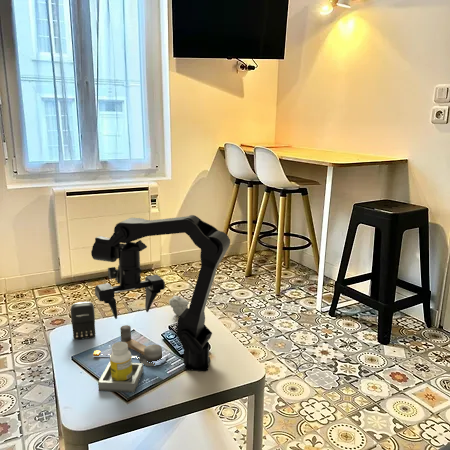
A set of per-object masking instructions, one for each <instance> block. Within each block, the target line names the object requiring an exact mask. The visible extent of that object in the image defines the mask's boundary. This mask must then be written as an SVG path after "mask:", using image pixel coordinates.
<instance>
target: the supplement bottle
mask: <svg viewBox="0 0 450 450" xmlns="http://www.w3.org/2000/svg"><path fill="white" fill-rule="evenodd" d="M111 351H112V352H111V353H110V354H109V355H110V358H109V362H110V364H111V377H112V381H124V382H129V381H130V380H131V379H132V363H133V361H132V360H133V359H131V356H132V352H131V350H129V347H128V344H127V343H126V342H121V341H118V342H114V343H113V344H112V346H111Z"/></svg>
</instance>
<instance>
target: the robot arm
mask: <svg viewBox="0 0 450 450" xmlns="http://www.w3.org/2000/svg"><path fill="white" fill-rule="evenodd" d="M184 233H185V234H186V235H187V236H188V237H189V238H190V240H191V242H193V244H194V245H195V246H197V248H199V249H200V254H199V257H200V269H199V272H198V276H197V278H196V279H197V280H196V282H195V286H194V288H193V289H194V290H193V293H192V297H191V300H190V303H189V306H188V308H186V309H185V310H184V311H183V313H182V314H181V315H178V319H177V325H176V327H174V330H176V337H177V338H178V340H179V341H180V344H181V347H182V348H183V365H184V370H185V371H197V372H208V371H209V367H210V362H211V357H210V342H209V341H210V339H211V337H212V335H213V332H212V331H211V330H210V329H209V328H208V327H207V326H206V324H205V321H206V315H205V309H206V306H207V303H208V299H209V296H210V294H211V290H212V286H213V283H214V281H215V276H216V273H217V271H218V267H219V265H220V263H221V262H222V260H223V259H224V257H225V255H226V253H227V251H228V249H229V248H230V245H231V238H230V237H229V235H228V234H227V233H226V232H224V231H222V230H219V229H217V228H216V227H215V226H214V225H212V224H209V223H208V222H206V221H204V220H202V219H201V218H200V217H198V216H196V215H194V214H190V215H187V216H179V217H170V218H161V219H151V220H150V219H144V218H143V217H142V218H140V217H129V218H127V219H125V220H122V221H120V222H117V223H116V224H115V226H114V229H113V233H112V234H111V236H110V237H106V236H101V235H98V236H97V237H95V238H94V239H95V240H94V243H93V244H92V248H91V250H90V252H91V253H90V254H91V258H92V259H93V260H95V261H101V262H108V263H109V262H110V263H115V262H117V260H118V267H117V269H116V266H112V267H107V275H108V278H109V279H115V282H116V283H117V284H119V285H115V286H112V285H111V284H110V283H109V282H108V283H107V282H106V283H100V284H96V286H95V288H94V295H95V296H96V298H97V299H98V301H99V302H103V303H104V304H108V306H109V307H110V310H111V313H112V314H113V317H114V320H117V319H118V308H117V299H116V298H115V295H116V294H118V293H124V292H129V291H134V290H141V289H144V290H145V299H144V300H145V305H144V306H145V308H144V309H145V312H146V313H148V312H149V311H150V308H151V307H152V304H153V303H154V301H155V299H156V297H157V295H158V294H160V293H161V291H162V290H165V289H166V283H165V280H164V279H163V278H162V277H161V276H159V275H158V274H152V275H147V276H145V278H144V279H145V280H141V273H142V267H141V256H140V252H142V251H143V250H145V249H147V247H148V246H147V245H146V244H145V243H144V242H143V241H142V240H141V239H144V238H146V237H154V236H162V235H174V234H184ZM134 241H136V242H134Z"/></svg>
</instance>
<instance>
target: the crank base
mask: <svg viewBox="0 0 450 450" xmlns="http://www.w3.org/2000/svg"><path fill="white" fill-rule="evenodd" d="M100 354H101V350H94V351H93V354H92V355H93V356H99V355H100ZM101 355H102V354H101ZM137 356H138V355H131V358H135V357H136V358H137ZM139 356H140V357H138V358H139V359H138V358H137V359H136V360H138V361H139V363H140V362H141V363H143V364H144V365H143V366H145V365H146V366H145V367H150V366H153V367H155V366H154V365H155V363H154V364H153V362H152V361H148V362H147V360H146V359H145V358H144V355H143V354H140V355H139ZM149 362H150V363H149ZM151 362H152V363H151Z"/></svg>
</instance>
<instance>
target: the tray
mask: <svg viewBox="0 0 450 450" xmlns="http://www.w3.org/2000/svg"><path fill="white" fill-rule="evenodd" d="M142 372H143V373H144V365H143V363H140V362H132V379H131V380H130V381H129V382H124V381H112V377H111V364H110V361H109V362H108V364H107V366H106V367H105V370H104V371H103V373H102V374H101V377H100V378H99V379H98V381H97V383H98V384H97V385H98V388H97V389H98V392H111V393H112V392H113V393H114V392H115V393H117V392H118V391H119V392H118V393H133V392H134V393H135V392H136V390H137V388H138V385H139V383H140V380H141V378H140V377H142V376H141V375H143V373H142ZM139 379H140V380H139ZM138 382H139V383H138ZM136 387H137V388H136ZM122 391H123V392H122Z"/></svg>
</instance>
